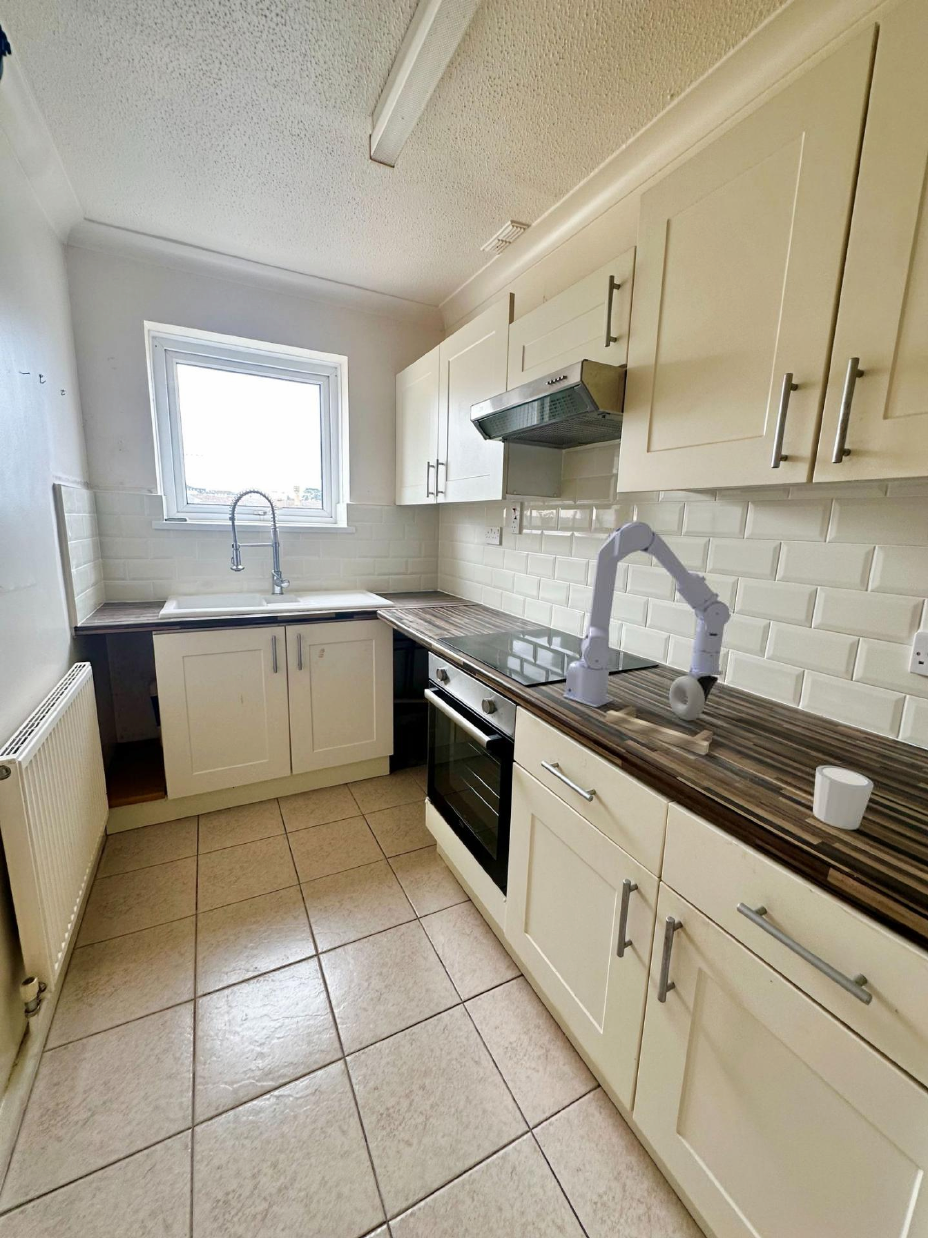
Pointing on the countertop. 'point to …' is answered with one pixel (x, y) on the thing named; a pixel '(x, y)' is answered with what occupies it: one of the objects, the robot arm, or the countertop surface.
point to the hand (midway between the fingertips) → (698, 705)
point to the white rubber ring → (694, 698)
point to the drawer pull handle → (660, 731)
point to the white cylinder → (840, 796)
